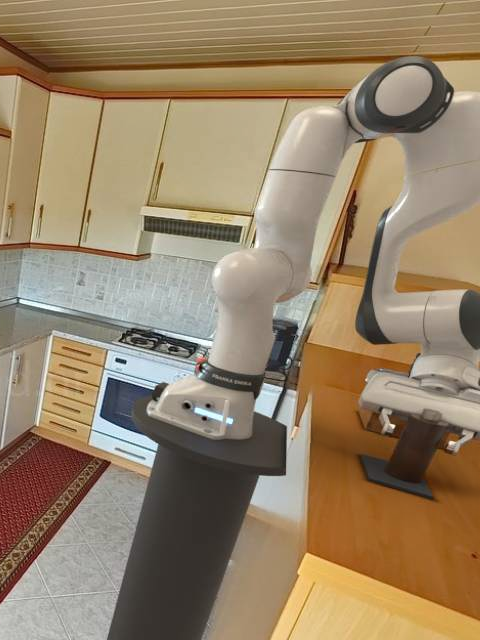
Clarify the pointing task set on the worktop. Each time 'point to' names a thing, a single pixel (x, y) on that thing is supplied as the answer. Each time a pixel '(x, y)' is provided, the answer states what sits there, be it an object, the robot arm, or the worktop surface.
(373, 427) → the brown wooden open box
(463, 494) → the worktop surface
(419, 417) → the pepper mill
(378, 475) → the counter mat
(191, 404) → the robot arm
